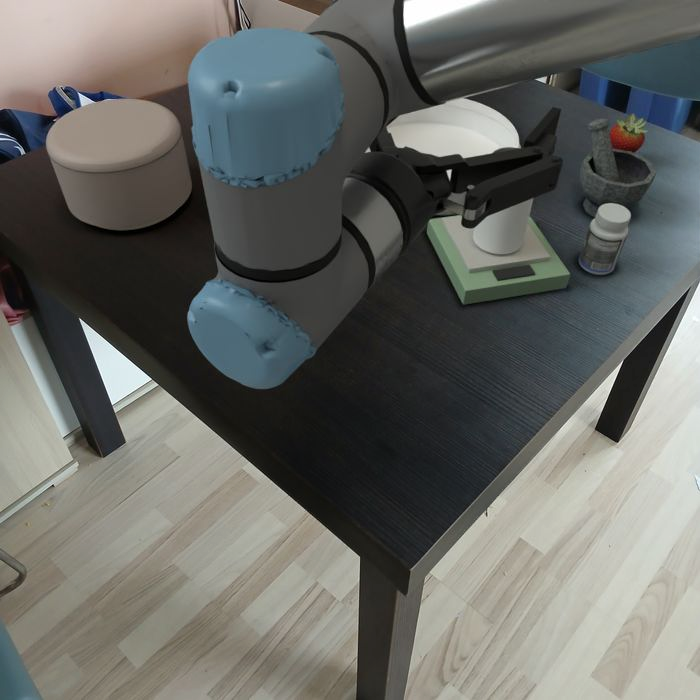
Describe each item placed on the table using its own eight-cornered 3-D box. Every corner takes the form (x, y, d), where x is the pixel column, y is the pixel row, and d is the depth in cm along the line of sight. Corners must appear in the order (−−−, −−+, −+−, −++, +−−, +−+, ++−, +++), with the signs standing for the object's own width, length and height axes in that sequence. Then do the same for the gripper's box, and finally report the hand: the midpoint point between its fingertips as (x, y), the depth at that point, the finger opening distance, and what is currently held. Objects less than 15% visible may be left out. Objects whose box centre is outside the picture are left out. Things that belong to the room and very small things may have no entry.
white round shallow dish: (393, 234, 93) (395, 201, 89) (319, 142, 109) (318, 111, 105) (553, 190, 100) (561, 158, 96) (461, 110, 117) (465, 80, 113)
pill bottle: (591, 248, 91) (608, 196, 85) (621, 265, 88) (642, 212, 82) (570, 263, 89) (587, 211, 82) (601, 281, 86) (621, 228, 80)
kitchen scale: (566, 288, 85) (572, 269, 83) (462, 305, 83) (466, 286, 81) (519, 219, 95) (524, 201, 93) (426, 233, 93) (428, 214, 91)
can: (529, 254, 85) (550, 171, 76) (480, 259, 84) (496, 176, 75) (512, 223, 89) (530, 143, 81) (466, 228, 89) (479, 147, 80)
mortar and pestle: (653, 212, 96) (683, 137, 88) (612, 236, 92) (639, 160, 84) (591, 178, 102) (614, 104, 94) (550, 199, 99) (570, 124, 90)
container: (129, 154, 107) (109, 84, 98) (218, 186, 101) (206, 114, 92) (42, 212, 96) (12, 138, 87) (137, 252, 90) (114, 176, 81)
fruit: (619, 176, 103) (635, 128, 97) (593, 160, 106) (607, 113, 100) (641, 166, 105) (659, 119, 99) (615, 151, 108) (630, 104, 102)
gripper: (233, 210, 56) (364, 106, 68) (512, 321, 47) (605, 178, 59) (221, 127, 50) (366, 30, 62) (534, 235, 41) (631, 97, 53)
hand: (482, 102), depth 61 cm, fingers open, 13 cm apart
